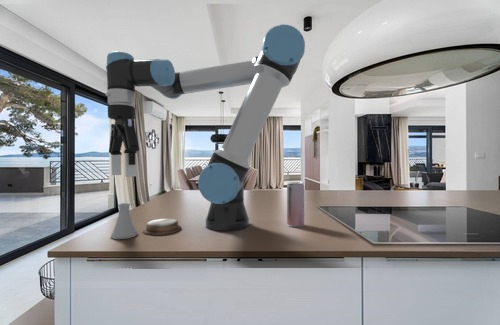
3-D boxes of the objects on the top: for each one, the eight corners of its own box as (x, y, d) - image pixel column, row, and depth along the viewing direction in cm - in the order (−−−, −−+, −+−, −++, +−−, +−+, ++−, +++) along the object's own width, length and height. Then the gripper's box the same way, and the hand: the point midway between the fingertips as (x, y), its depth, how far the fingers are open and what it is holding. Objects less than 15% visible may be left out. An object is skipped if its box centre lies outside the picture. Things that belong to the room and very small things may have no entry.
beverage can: (287, 223, 92) (286, 181, 92) (303, 223, 92) (303, 182, 92) (287, 227, 87) (286, 183, 86) (305, 227, 86) (304, 183, 86)
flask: (127, 240, 73) (126, 206, 73) (105, 239, 75) (105, 205, 75) (142, 233, 81) (142, 202, 80) (122, 232, 82) (122, 201, 82)
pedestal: (185, 225, 90) (185, 217, 90) (174, 235, 78) (174, 226, 78) (152, 225, 91) (151, 217, 91) (135, 235, 79) (135, 226, 79)
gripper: (97, 110, 84) (99, 175, 84) (121, 96, 66) (123, 178, 66) (121, 113, 89) (123, 173, 89) (150, 100, 71) (152, 176, 71)
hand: (123, 175), depth 77 cm, fingers open, 13 cm apart
